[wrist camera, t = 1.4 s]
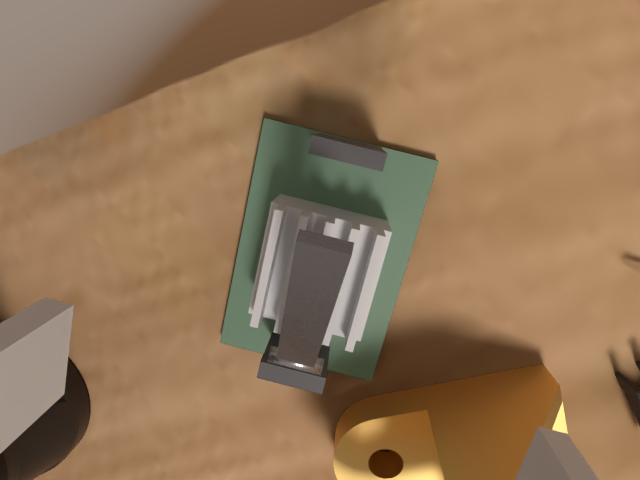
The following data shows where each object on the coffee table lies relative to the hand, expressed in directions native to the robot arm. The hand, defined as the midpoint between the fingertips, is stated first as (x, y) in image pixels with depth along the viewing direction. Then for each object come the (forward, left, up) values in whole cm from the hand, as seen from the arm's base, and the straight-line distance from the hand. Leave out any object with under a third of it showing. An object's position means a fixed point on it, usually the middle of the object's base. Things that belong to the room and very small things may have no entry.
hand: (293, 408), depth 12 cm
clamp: (+14, -17, -27) cm, 35 cm away
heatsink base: (0, -4, -26) cm, 27 cm away
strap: (0, -4, -15) cm, 16 cm away
